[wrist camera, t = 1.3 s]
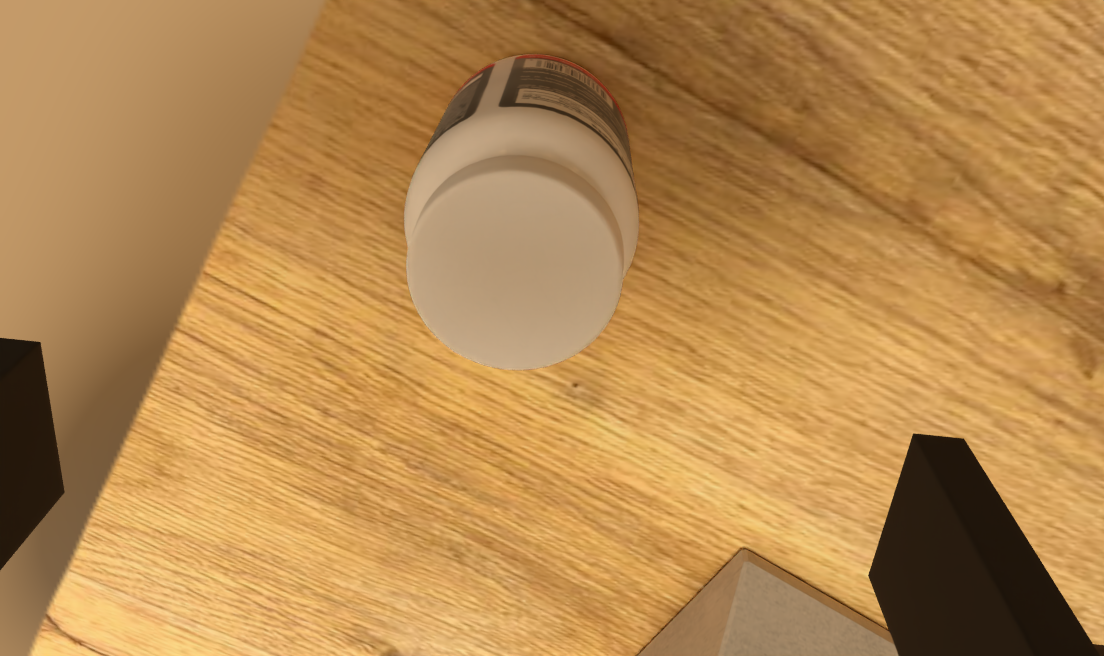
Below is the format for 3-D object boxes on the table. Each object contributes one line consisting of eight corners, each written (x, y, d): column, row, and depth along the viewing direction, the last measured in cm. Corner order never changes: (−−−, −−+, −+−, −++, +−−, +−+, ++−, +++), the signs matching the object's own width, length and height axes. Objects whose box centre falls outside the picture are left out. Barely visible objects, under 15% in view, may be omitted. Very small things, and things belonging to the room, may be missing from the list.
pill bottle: (484, 255, 31) (441, 421, 22) (411, 89, 29) (330, 201, 20) (654, 197, 30) (679, 348, 21) (592, 20, 28) (592, 106, 19)
